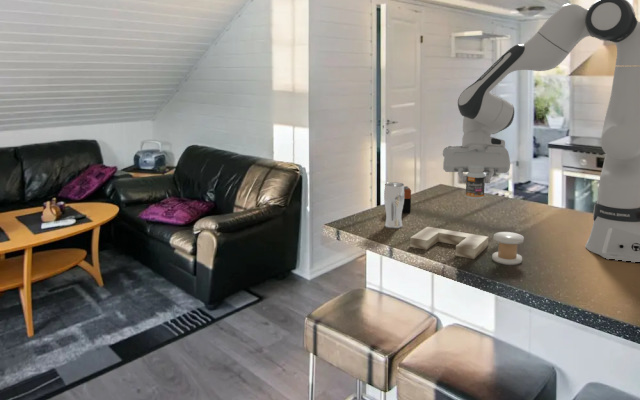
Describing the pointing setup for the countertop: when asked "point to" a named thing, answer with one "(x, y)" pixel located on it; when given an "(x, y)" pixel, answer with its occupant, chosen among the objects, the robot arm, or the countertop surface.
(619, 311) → the countertop surface
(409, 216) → the countertop surface
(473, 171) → the pill bottle
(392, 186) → the beer glass
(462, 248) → the notched board
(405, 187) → the battery
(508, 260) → the spool
